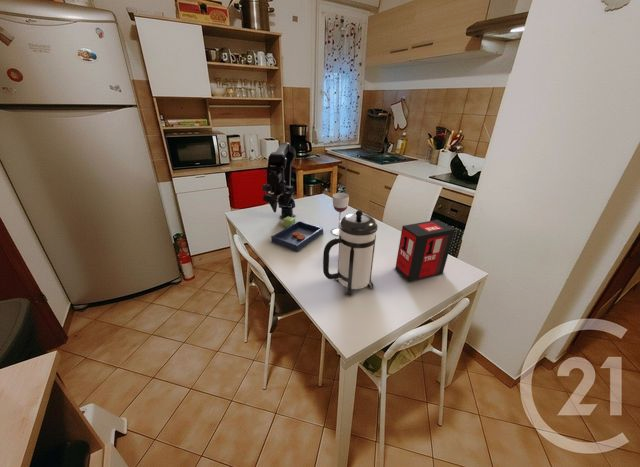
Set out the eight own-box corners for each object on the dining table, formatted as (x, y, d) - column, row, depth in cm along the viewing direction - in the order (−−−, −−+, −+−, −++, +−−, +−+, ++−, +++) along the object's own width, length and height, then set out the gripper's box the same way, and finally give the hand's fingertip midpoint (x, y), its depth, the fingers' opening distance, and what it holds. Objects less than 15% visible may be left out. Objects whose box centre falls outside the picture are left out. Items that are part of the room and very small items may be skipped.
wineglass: (329, 234, 135) (330, 197, 125) (334, 227, 142) (336, 191, 132) (344, 237, 132) (346, 199, 123) (349, 229, 139) (351, 194, 130)
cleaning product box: (408, 282, 100) (418, 236, 91) (395, 269, 108) (402, 225, 98) (442, 273, 106) (455, 229, 96) (427, 261, 113) (437, 219, 104)
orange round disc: (300, 235, 131) (300, 234, 131) (306, 238, 129) (306, 236, 129) (295, 239, 128) (295, 237, 128) (301, 241, 126) (301, 239, 126)
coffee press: (340, 267, 109) (343, 199, 95) (377, 277, 103) (387, 206, 89) (322, 292, 95) (322, 216, 81) (364, 306, 89) (373, 227, 75)
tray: (298, 226, 143) (298, 220, 141) (322, 233, 135) (323, 227, 134) (271, 242, 127) (271, 236, 125) (297, 251, 119) (297, 245, 118)
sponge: (288, 223, 146) (288, 216, 143) (295, 225, 143) (295, 218, 141) (283, 226, 143) (283, 218, 140) (290, 228, 140) (290, 220, 138)
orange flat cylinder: (295, 232, 134) (295, 230, 134) (301, 234, 132) (301, 233, 132) (290, 235, 131) (290, 234, 131) (297, 237, 129) (297, 236, 129)
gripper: (278, 173, 139) (280, 200, 146) (252, 182, 125) (256, 212, 133) (295, 176, 134) (296, 204, 141) (270, 186, 120) (273, 217, 127)
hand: (280, 209), depth 136 cm, fingers open, 9 cm apart
